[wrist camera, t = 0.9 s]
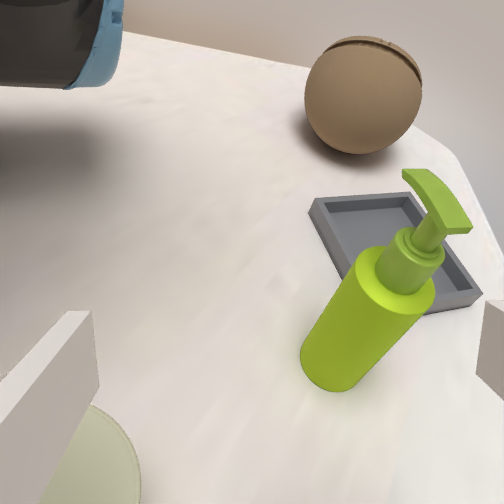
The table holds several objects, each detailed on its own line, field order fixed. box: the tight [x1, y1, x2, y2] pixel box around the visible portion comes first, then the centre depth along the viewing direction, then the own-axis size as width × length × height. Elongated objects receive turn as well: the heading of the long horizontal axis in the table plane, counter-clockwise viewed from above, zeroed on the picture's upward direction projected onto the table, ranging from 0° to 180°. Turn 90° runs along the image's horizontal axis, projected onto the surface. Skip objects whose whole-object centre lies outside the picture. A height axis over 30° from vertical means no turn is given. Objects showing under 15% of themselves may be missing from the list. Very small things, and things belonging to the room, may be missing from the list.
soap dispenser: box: [300, 169, 473, 392], centre depth 33 cm, size 6×7×20 cm
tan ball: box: [304, 36, 422, 154], centre depth 58 cm, size 15×15×15 cm
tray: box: [308, 192, 483, 315], centre depth 49 cm, size 16×14×2 cm
